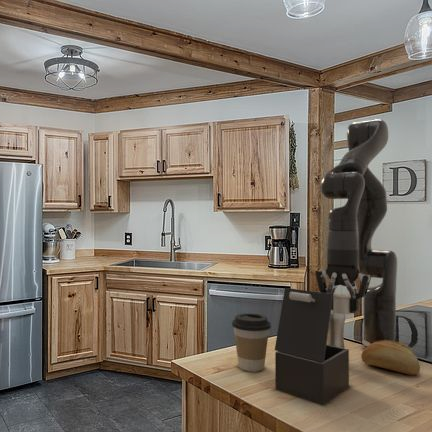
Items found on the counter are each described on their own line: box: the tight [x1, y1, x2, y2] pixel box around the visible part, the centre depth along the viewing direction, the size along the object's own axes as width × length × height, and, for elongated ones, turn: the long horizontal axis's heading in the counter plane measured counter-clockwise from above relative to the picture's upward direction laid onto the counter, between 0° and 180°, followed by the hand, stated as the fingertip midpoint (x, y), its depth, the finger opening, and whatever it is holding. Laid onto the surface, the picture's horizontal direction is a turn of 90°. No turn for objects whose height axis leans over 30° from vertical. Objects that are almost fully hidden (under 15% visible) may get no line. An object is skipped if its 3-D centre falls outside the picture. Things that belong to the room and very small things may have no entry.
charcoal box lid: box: [274, 287, 333, 363], centre depth 108 cm, size 16×13×5 cm
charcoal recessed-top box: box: [274, 345, 350, 406], centre depth 113 cm, size 16×13×10 cm
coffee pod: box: [333, 293, 352, 315], centre depth 115 cm, size 5×5×4 cm
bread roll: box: [361, 340, 421, 376], centre depth 125 cm, size 10×15×8 cm, turn 51°
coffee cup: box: [231, 312, 272, 373], centre depth 128 cm, size 11×11×15 cm
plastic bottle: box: [326, 310, 346, 349], centre depth 131 cm, size 6×7×20 cm
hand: (342, 310), depth 115 cm, fingers closed on coffee pod, 5 cm apart
